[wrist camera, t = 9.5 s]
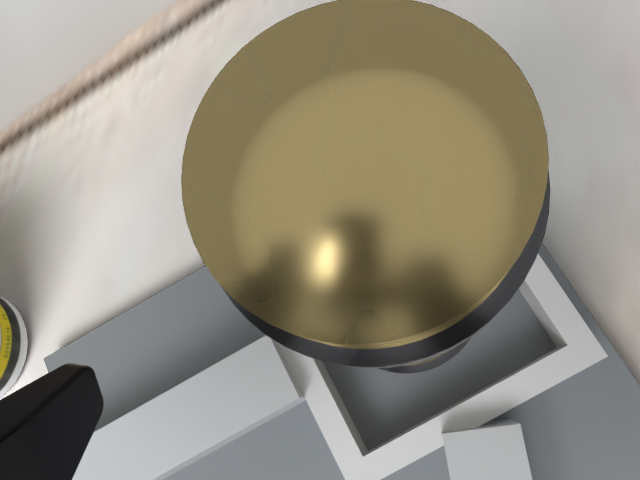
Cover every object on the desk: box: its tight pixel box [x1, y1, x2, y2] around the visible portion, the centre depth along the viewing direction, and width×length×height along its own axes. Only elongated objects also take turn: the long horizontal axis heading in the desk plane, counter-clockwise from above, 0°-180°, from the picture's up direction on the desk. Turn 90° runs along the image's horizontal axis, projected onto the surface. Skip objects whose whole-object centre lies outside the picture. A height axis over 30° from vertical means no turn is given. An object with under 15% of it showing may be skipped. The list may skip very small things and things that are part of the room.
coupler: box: [181, 0, 550, 374], centre depth 13 cm, size 4×4×14 cm
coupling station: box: [44, 243, 640, 480], centre depth 18 cm, size 17×18×3 cm
